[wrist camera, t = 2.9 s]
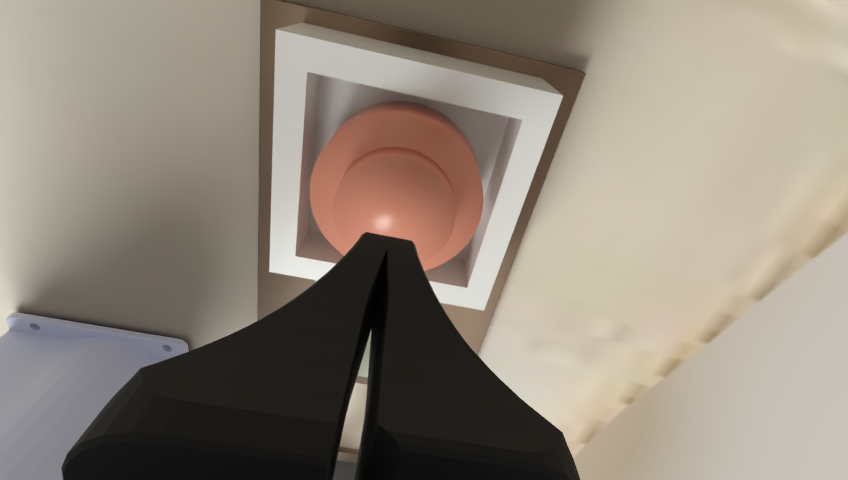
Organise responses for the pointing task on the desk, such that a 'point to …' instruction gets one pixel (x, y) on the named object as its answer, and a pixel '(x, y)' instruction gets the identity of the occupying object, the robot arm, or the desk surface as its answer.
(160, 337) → the robot arm
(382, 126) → the dome
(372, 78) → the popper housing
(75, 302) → the desk surface
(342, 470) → the pawn
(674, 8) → the desk surface
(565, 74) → the game board
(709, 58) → the desk surface
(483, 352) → the desk surface
